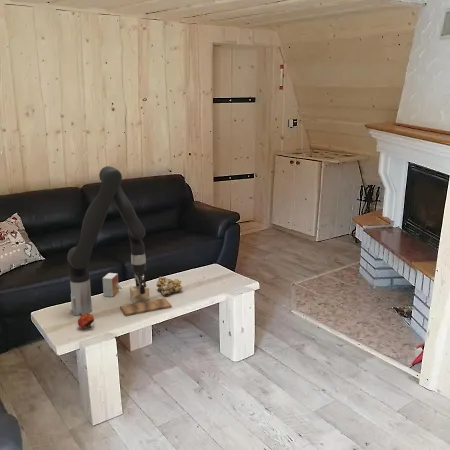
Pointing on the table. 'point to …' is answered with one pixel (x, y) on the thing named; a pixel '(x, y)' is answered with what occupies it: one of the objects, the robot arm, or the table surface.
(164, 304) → the board
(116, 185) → the robot arm
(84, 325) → the pomegranate
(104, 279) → the small box
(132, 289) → the sanding block
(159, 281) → the mineral formation
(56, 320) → the table surface
